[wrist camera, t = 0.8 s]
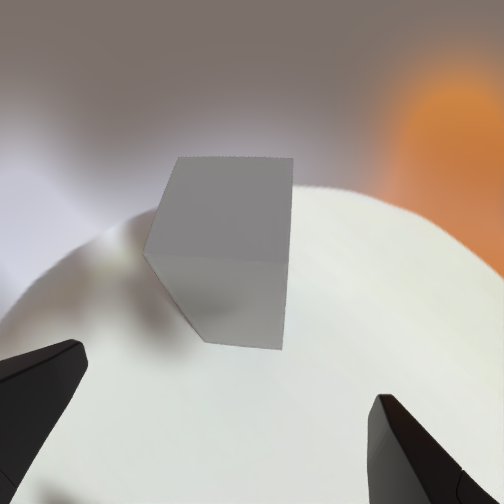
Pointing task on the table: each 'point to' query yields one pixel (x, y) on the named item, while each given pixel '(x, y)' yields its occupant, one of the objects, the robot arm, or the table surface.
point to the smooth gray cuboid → (226, 246)
